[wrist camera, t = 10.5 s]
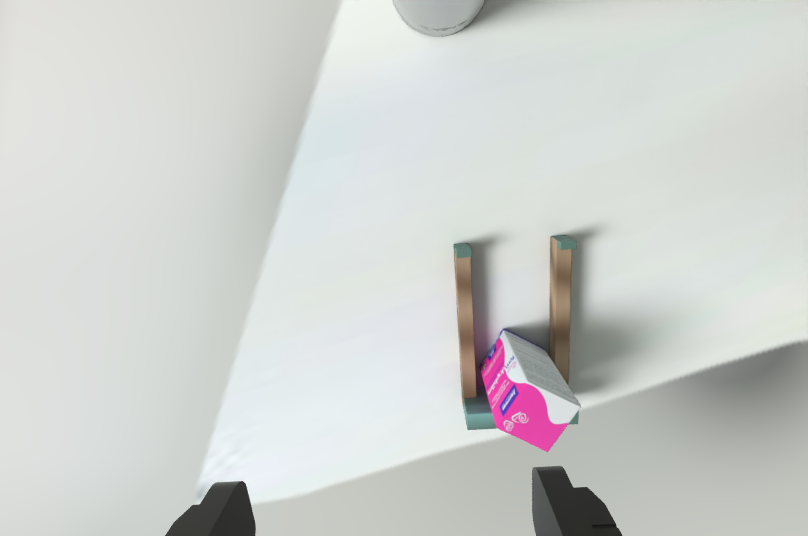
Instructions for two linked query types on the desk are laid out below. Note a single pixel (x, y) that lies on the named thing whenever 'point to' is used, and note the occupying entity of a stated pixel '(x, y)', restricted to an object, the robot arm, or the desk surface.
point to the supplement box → (527, 391)
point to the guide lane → (472, 397)
